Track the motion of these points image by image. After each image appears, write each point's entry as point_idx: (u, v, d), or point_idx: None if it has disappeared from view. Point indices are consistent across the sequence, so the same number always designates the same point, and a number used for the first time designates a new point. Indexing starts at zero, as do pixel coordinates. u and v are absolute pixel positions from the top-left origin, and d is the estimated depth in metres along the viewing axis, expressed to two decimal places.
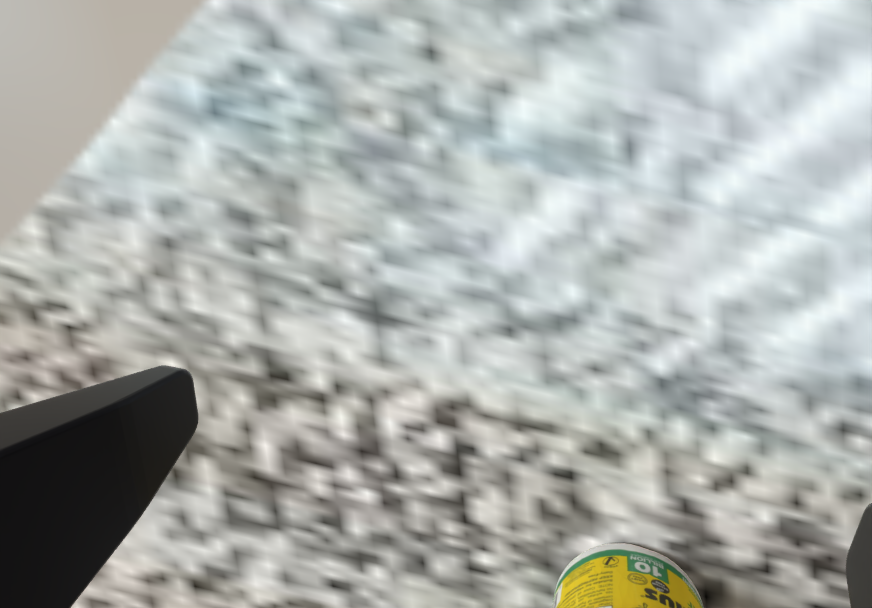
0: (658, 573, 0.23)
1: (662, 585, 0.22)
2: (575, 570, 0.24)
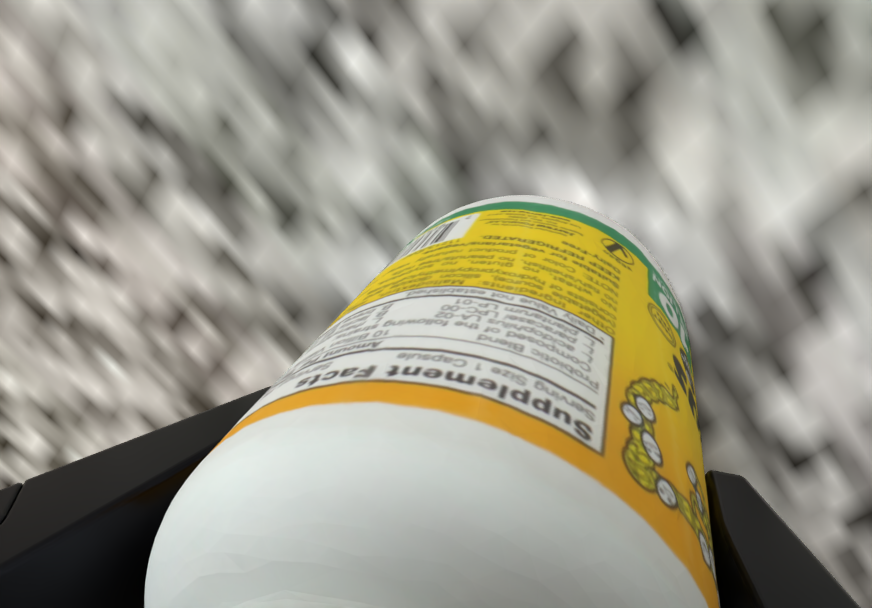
0: (685, 343, 0.09)
1: (689, 372, 0.09)
2: (527, 212, 0.10)
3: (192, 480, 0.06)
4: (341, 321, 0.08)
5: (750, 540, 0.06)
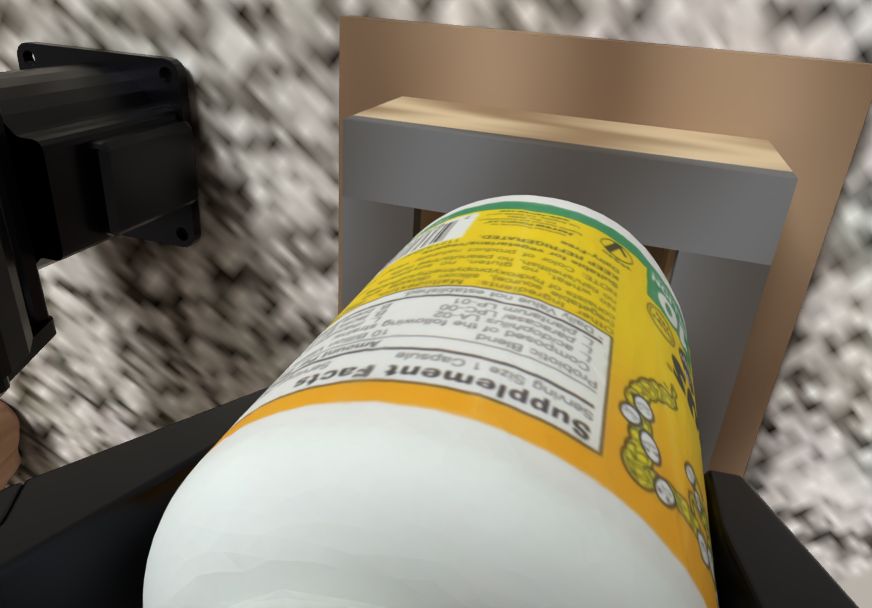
0: (684, 343, 0.09)
1: (688, 372, 0.09)
2: (526, 212, 0.10)
3: (191, 480, 0.06)
4: (340, 321, 0.08)
5: (749, 540, 0.06)
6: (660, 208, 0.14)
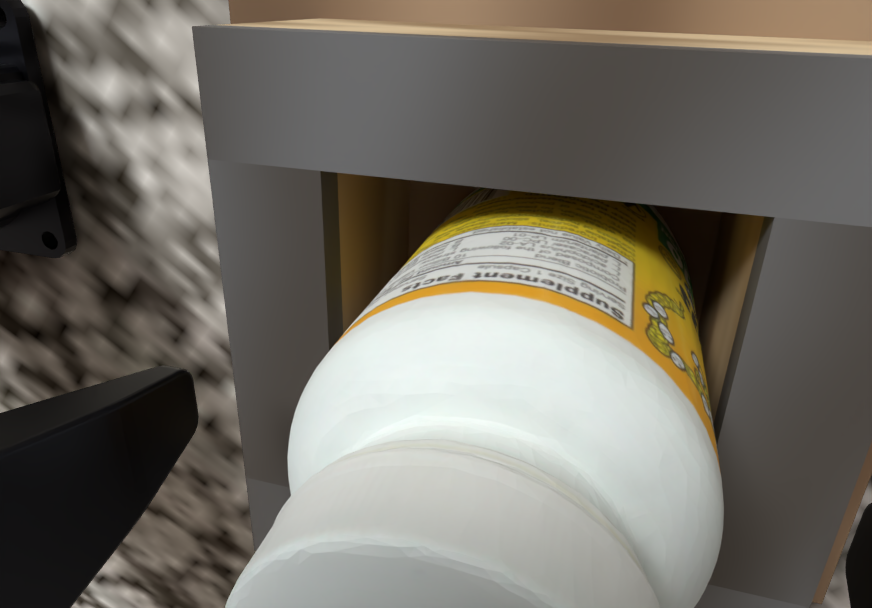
0: (688, 282, 0.11)
1: (692, 302, 0.11)
2: None
3: (332, 355, 0.08)
4: (419, 256, 0.10)
5: None
6: (740, 142, 0.08)
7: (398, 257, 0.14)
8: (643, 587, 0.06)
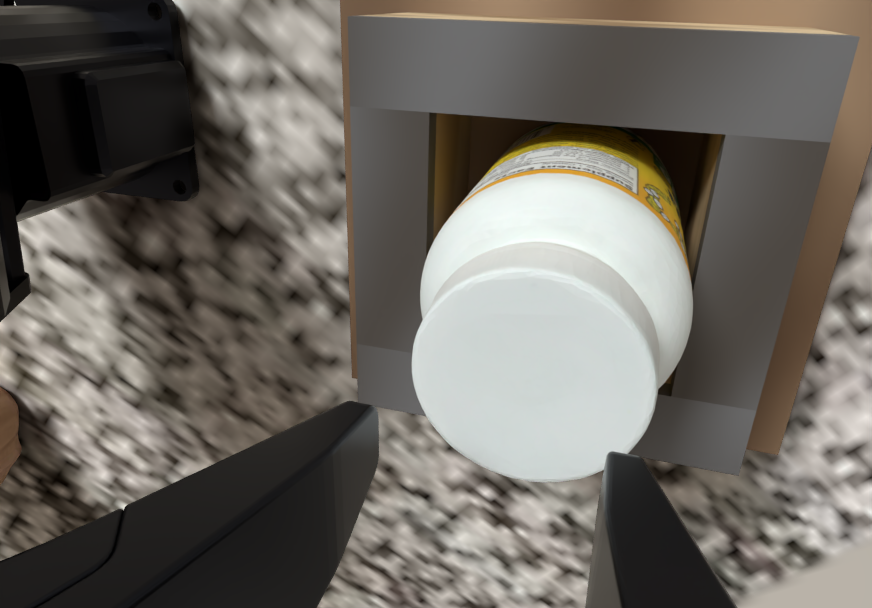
0: (674, 194, 0.16)
1: (677, 205, 0.16)
2: None
3: (455, 215, 0.13)
4: (496, 168, 0.15)
5: (627, 514, 0.07)
6: (703, 86, 0.13)
7: (462, 189, 0.19)
8: (645, 309, 0.11)
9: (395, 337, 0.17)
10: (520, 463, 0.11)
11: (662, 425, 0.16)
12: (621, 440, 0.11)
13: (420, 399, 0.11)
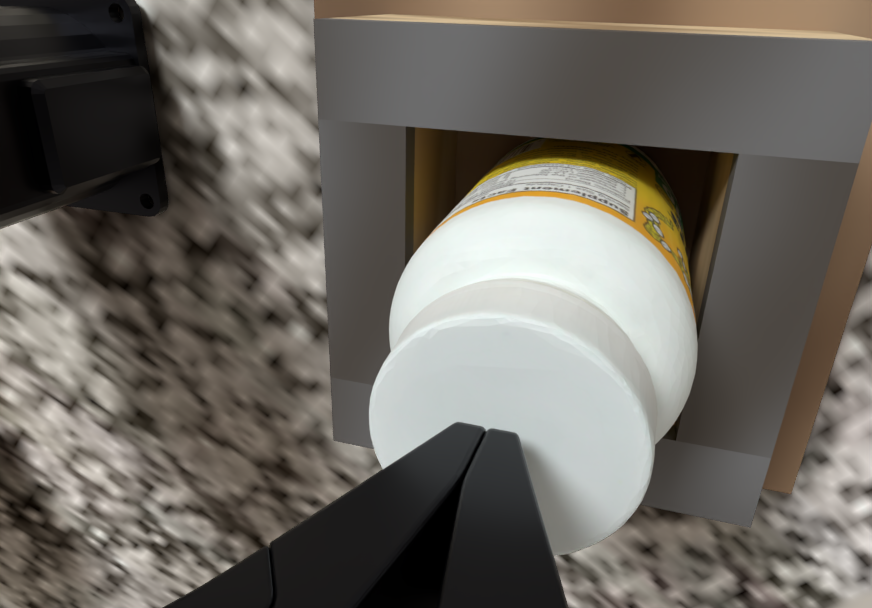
0: (679, 215, 0.15)
1: (681, 228, 0.14)
2: None
3: (426, 243, 0.11)
4: (477, 188, 0.13)
5: (482, 483, 0.07)
6: (714, 99, 0.12)
7: (448, 206, 0.17)
8: (640, 360, 0.09)
9: (372, 371, 0.16)
10: None
11: (666, 471, 0.15)
12: (611, 514, 0.09)
13: (378, 458, 0.10)
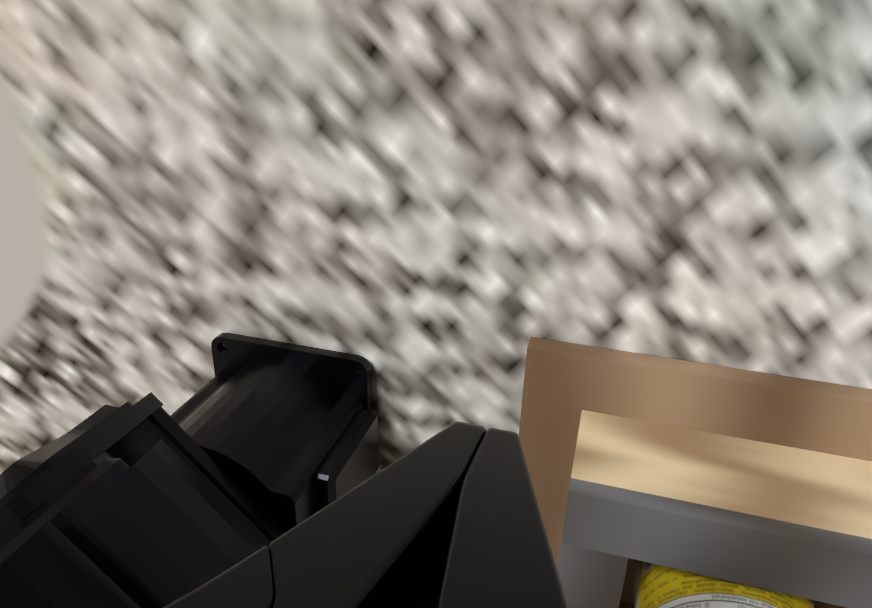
0: None
1: None
2: None
3: None
4: (681, 603, 0.19)
5: (482, 483, 0.07)
6: (858, 583, 0.17)
7: None
8: None
9: None
10: None
11: None
12: None
13: None
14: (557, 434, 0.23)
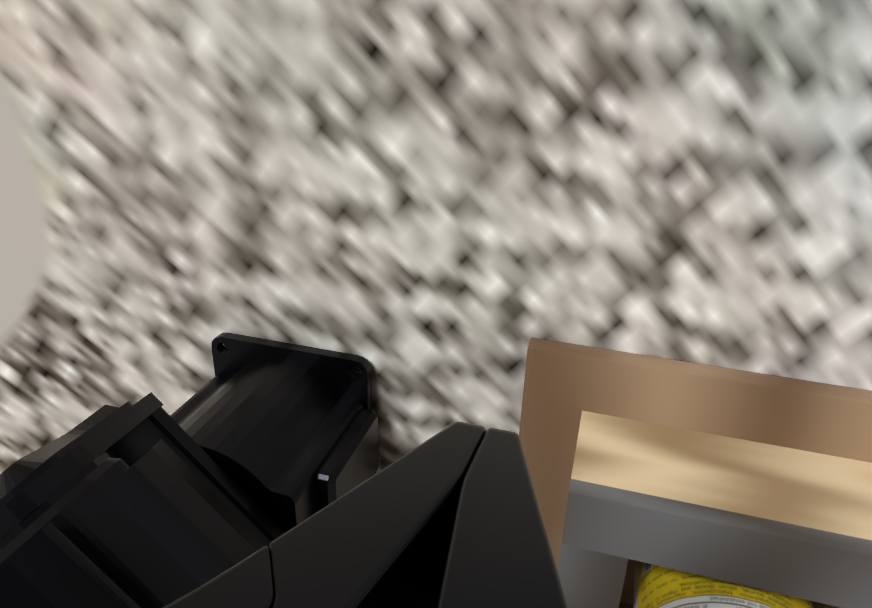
0: None
1: None
2: None
3: None
4: (679, 605, 0.19)
5: (482, 483, 0.07)
6: (858, 585, 0.17)
7: None
8: None
9: None
10: None
11: None
12: None
13: None
14: (557, 435, 0.23)
